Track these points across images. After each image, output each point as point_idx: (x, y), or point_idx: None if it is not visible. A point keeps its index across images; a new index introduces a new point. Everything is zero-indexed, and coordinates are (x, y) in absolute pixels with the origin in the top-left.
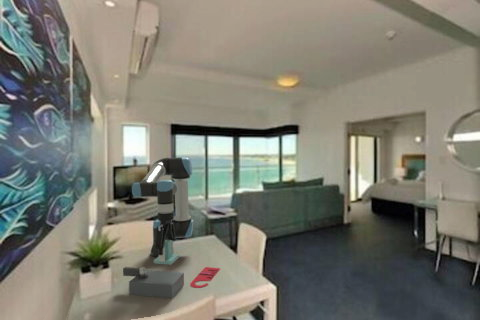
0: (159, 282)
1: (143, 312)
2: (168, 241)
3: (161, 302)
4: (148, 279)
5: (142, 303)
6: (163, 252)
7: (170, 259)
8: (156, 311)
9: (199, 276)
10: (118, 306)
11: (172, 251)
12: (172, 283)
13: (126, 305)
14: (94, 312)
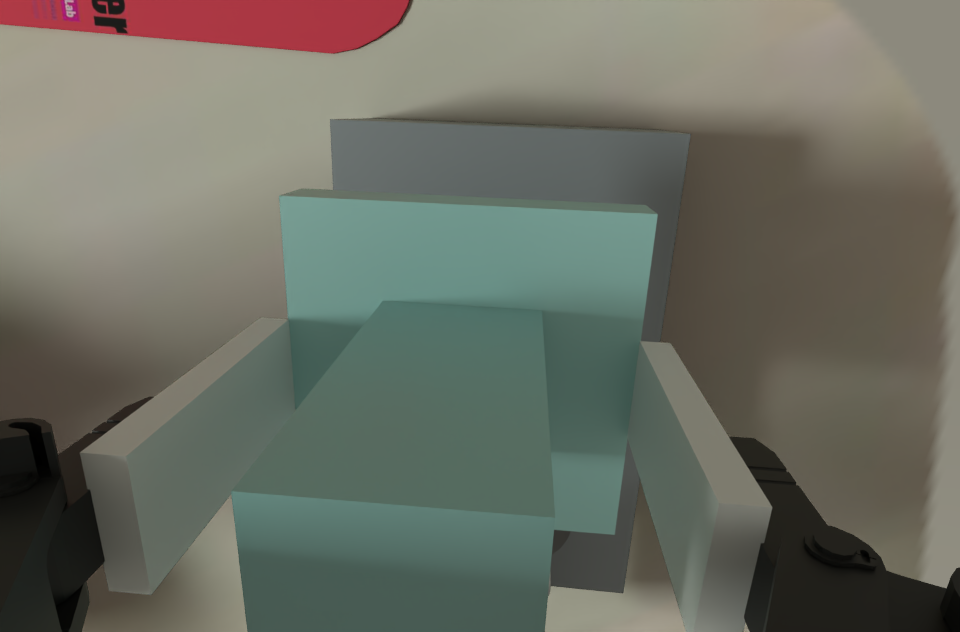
0: None
1: (907, 288)
2: (406, 552)
3: (740, 202)
4: None
5: (756, 357)
6: (720, 445)
7: (557, 265)
8: (899, 182)
9: (166, 3)
10: None
11: (267, 347)
12: (639, 148)
13: (786, 462)
14: None
